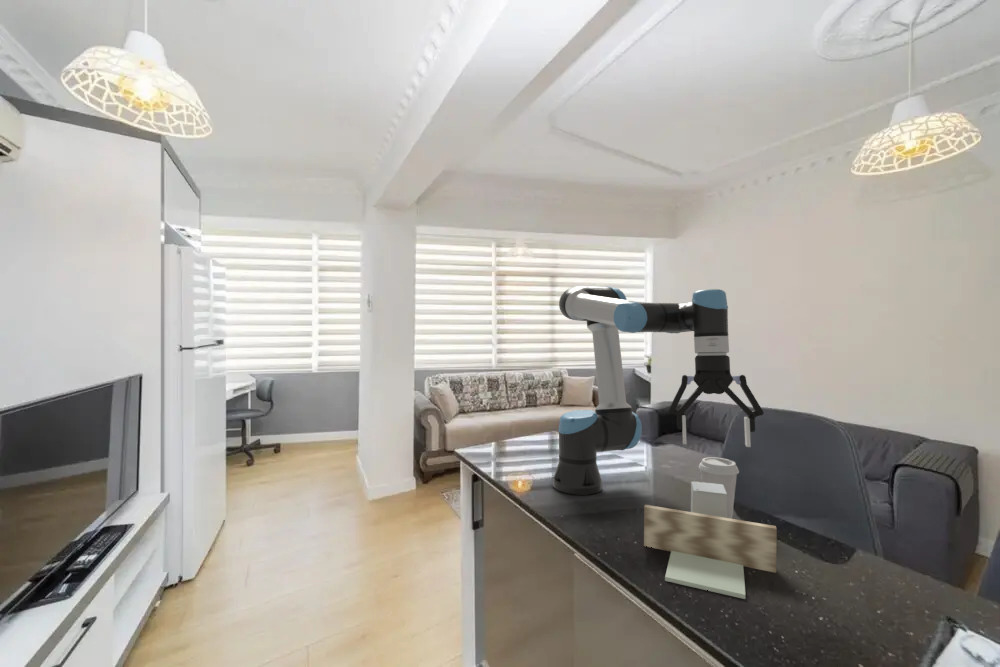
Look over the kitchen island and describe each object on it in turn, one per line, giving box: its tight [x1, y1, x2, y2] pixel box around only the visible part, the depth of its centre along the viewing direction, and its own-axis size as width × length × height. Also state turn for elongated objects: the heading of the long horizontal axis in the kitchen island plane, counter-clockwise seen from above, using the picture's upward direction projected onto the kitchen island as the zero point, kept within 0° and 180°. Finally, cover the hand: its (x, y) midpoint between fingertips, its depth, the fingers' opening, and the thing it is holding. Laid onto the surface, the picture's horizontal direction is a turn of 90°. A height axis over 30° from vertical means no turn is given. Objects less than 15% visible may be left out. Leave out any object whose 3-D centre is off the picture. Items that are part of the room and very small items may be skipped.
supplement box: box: [690, 480, 727, 518], centre depth 109 cm, size 7×7×13 cm
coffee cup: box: [698, 456, 740, 519], centre depth 121 cm, size 10×10×15 cm
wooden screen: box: [643, 504, 778, 573], centre depth 100 cm, size 26×2×9 cm, turn 64°
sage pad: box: [664, 551, 746, 600], centre depth 93 cm, size 14×12×1 cm
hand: (715, 444), depth 109 cm, fingers open, 13 cm apart
